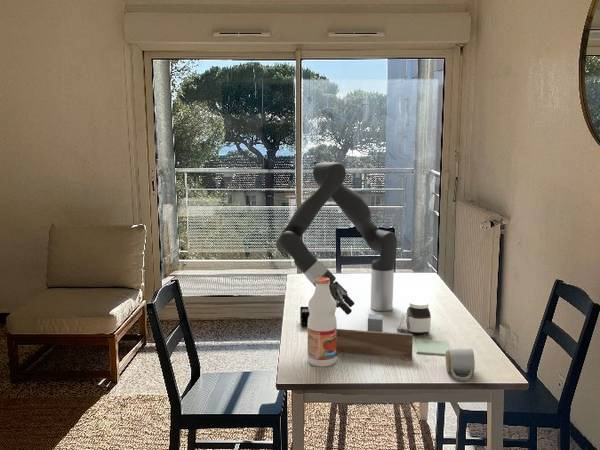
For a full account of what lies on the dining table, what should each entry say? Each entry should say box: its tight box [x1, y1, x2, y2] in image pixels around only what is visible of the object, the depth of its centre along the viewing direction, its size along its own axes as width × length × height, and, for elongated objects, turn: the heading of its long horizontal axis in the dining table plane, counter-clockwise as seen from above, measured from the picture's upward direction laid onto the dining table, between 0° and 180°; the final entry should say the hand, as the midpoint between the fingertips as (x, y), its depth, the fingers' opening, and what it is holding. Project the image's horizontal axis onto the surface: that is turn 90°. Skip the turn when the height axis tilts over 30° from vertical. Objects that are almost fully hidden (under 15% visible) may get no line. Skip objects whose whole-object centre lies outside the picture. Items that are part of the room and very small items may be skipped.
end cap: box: [299, 306, 310, 328], centre depth 225 cm, size 10×7×7 cm
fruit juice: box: [307, 277, 338, 367], centre depth 188 cm, size 9×9×28 cm
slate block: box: [367, 313, 384, 332], centre depth 205 cm, size 5×5×10 cm
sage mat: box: [416, 338, 450, 356], centre depth 202 cm, size 12×11×1 cm
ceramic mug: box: [445, 348, 476, 382], centre depth 180 cm, size 11×8×8 cm
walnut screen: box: [336, 328, 414, 361], centre depth 195 cm, size 5×26×8 cm, turn 79°
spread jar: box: [396, 299, 432, 336], centre depth 216 cm, size 12×11×12 cm
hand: (351, 309), depth 205 cm, fingers open, 8 cm apart
